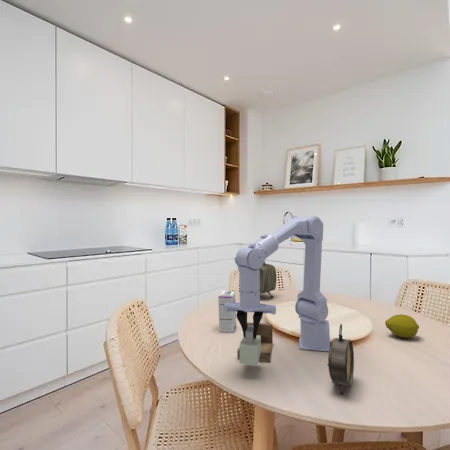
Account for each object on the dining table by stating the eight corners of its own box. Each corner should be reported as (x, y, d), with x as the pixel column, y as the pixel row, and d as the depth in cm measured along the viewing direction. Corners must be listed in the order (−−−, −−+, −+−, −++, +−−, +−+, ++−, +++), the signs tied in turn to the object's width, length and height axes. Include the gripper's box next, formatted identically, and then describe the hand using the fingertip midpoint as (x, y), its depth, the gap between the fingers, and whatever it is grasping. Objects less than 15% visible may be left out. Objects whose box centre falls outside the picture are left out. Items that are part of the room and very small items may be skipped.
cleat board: (272, 343, 101) (272, 324, 100) (269, 362, 89) (269, 339, 88) (244, 341, 103) (243, 322, 103) (237, 358, 91) (237, 336, 91)
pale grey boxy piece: (260, 352, 87) (260, 323, 87) (257, 365, 79) (257, 334, 79) (244, 350, 88) (243, 322, 88) (239, 363, 80) (239, 333, 80)
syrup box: (233, 332, 111) (233, 295, 110) (218, 331, 112) (218, 294, 111) (236, 327, 116) (235, 291, 116) (221, 326, 117) (221, 290, 117)
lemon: (416, 334, 107) (416, 312, 106) (423, 343, 99) (423, 320, 99) (383, 330, 110) (383, 310, 110) (387, 339, 103) (387, 317, 102)
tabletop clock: (276, 298, 154) (276, 251, 153) (265, 302, 147) (265, 253, 146) (255, 293, 164) (255, 249, 163) (244, 296, 158) (244, 250, 157)
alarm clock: (348, 399, 70) (348, 333, 70) (325, 392, 73) (324, 329, 73) (355, 377, 80) (355, 318, 79) (334, 372, 83) (334, 315, 82)
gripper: (221, 292, 81) (222, 340, 81) (274, 295, 77) (275, 345, 78) (227, 286, 87) (227, 330, 88) (276, 288, 84) (276, 334, 85)
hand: (250, 337), depth 83 cm, fingers closed on pale grey boxy piece
